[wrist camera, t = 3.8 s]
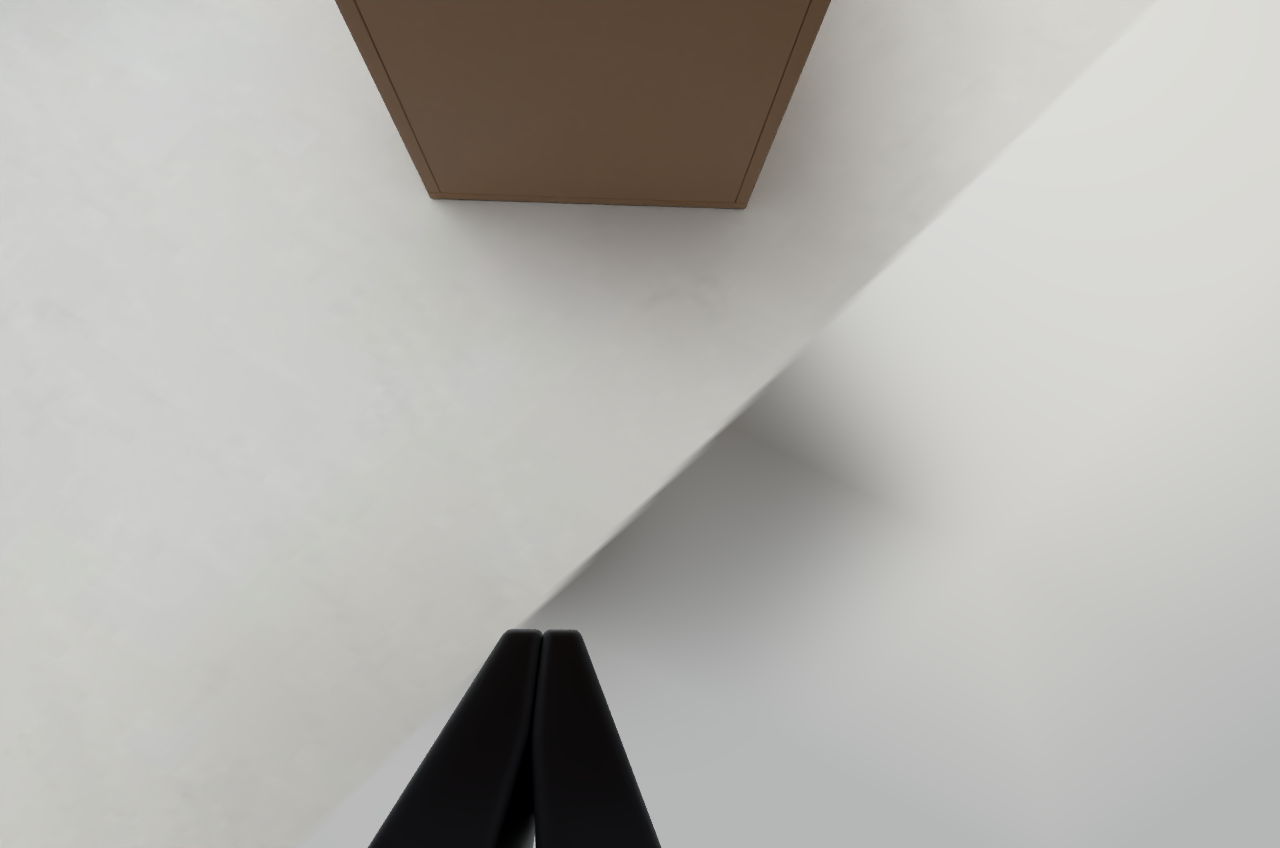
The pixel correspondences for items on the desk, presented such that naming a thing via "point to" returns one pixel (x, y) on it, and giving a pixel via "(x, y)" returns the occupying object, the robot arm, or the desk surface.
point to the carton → (587, 94)
